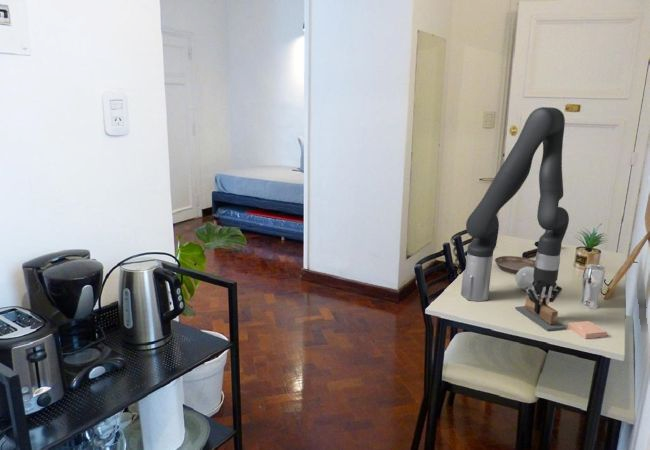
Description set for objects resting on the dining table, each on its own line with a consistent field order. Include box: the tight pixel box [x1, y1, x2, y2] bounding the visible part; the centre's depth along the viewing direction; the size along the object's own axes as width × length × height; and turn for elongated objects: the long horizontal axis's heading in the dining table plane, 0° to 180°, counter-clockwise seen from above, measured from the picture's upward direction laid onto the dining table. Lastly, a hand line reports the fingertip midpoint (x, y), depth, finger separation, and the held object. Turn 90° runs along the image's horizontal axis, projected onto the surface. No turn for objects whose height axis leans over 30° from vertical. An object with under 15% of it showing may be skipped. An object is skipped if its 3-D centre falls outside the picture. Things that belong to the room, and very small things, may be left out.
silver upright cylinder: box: [579, 263, 606, 310], centre depth 183 cm, size 7×7×15 cm
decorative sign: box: [521, 240, 539, 259], centre depth 245 cm, size 27×2×10 cm, turn 127°
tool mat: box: [514, 305, 567, 332], centre depth 172 cm, size 7×18×1 cm, turn 13°
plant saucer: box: [494, 255, 535, 275], centre depth 223 cm, size 21×21×3 cm
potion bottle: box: [514, 267, 535, 293], centre depth 196 cm, size 9×10×15 cm
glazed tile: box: [567, 320, 608, 340], centre depth 163 cm, size 8×2×8 cm
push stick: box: [524, 295, 559, 324], centre depth 172 cm, size 2×14×4 cm, turn 13°
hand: (540, 313), depth 172 cm, fingers closed on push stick, 1 cm apart
